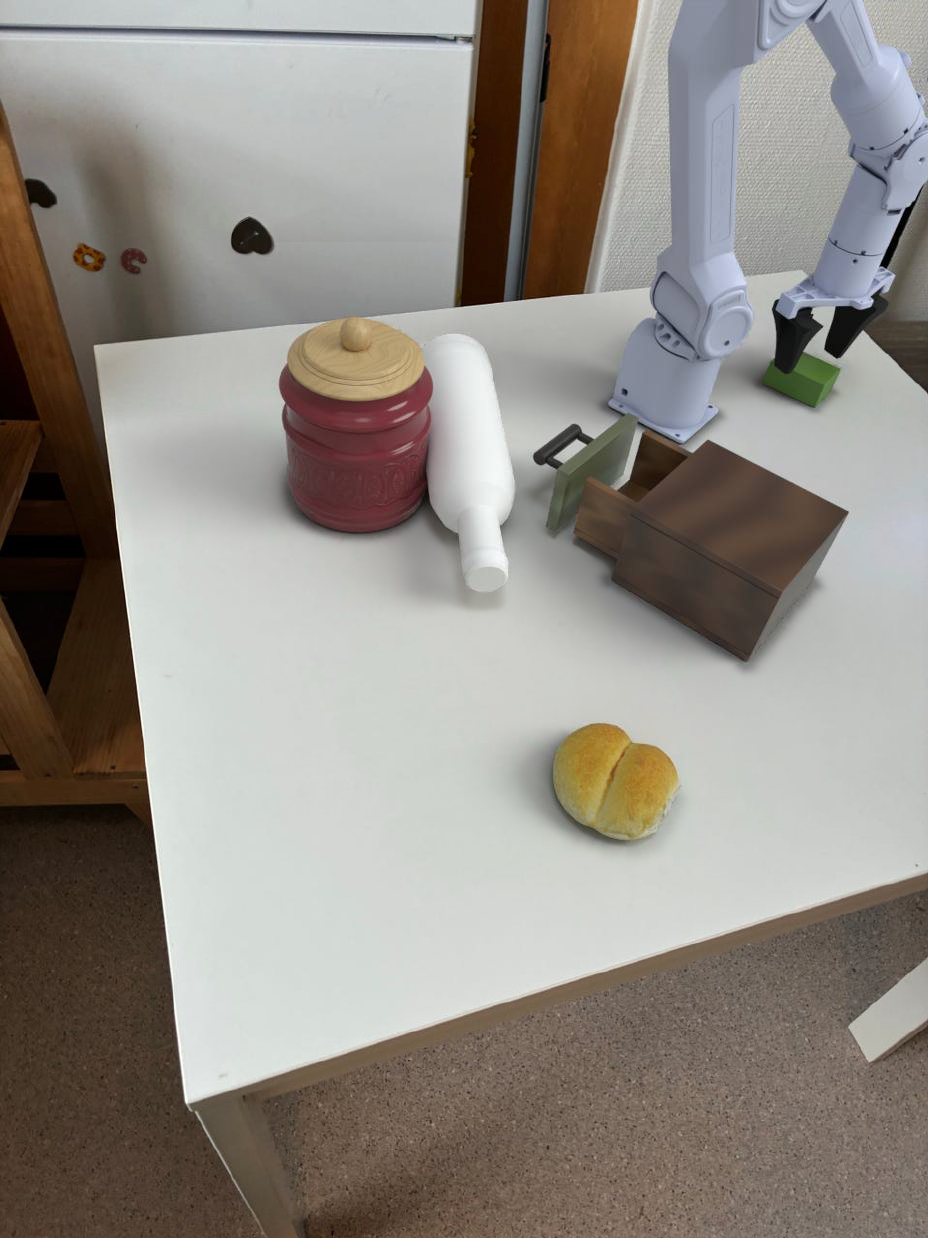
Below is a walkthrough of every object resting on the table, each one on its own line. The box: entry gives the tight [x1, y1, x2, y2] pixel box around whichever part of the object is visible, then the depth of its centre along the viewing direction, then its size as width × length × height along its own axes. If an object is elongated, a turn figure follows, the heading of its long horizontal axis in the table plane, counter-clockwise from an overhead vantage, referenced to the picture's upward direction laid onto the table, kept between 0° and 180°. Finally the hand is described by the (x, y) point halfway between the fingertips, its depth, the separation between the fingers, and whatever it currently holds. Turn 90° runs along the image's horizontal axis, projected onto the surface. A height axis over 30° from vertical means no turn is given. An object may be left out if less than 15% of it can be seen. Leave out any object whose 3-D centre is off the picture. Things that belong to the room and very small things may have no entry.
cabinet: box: [611, 439, 850, 662], centre depth 77 cm, size 14×13×9 cm
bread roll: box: [552, 722, 682, 841], centre depth 64 cm, size 8×9×4 cm
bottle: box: [421, 333, 517, 593], centre depth 83 cm, size 8×8×30 cm
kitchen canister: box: [278, 316, 433, 533], centre depth 78 cm, size 13×13×18 cm
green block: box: [762, 351, 842, 408], centre depth 101 cm, size 6×4×3 cm
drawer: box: [532, 413, 693, 560], centre depth 81 cm, size 17×11×7 cm
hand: (807, 361), depth 99 cm, fingers open, 7 cm apart
